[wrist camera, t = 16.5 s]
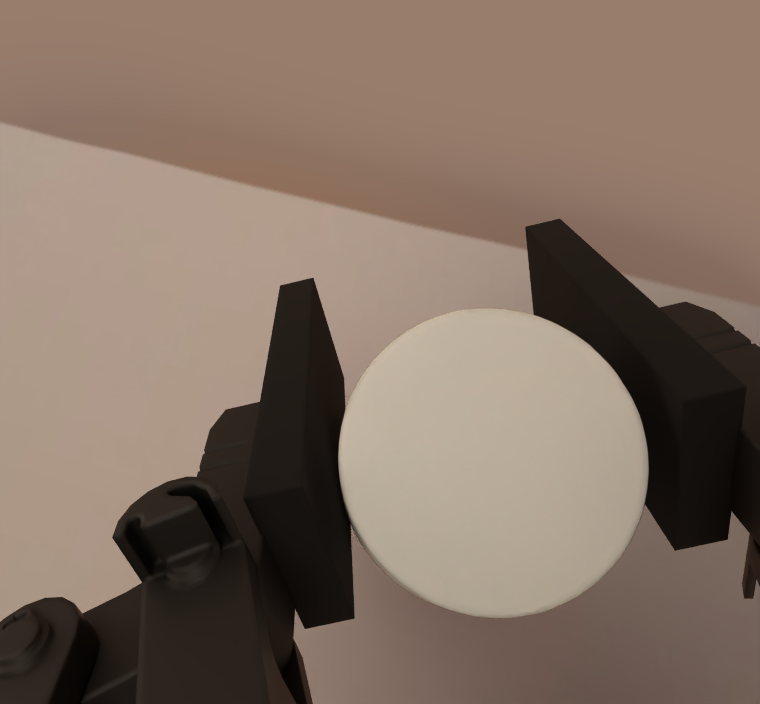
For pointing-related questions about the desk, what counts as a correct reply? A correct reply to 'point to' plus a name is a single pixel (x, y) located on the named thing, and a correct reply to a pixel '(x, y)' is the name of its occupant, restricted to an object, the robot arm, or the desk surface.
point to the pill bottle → (492, 463)
